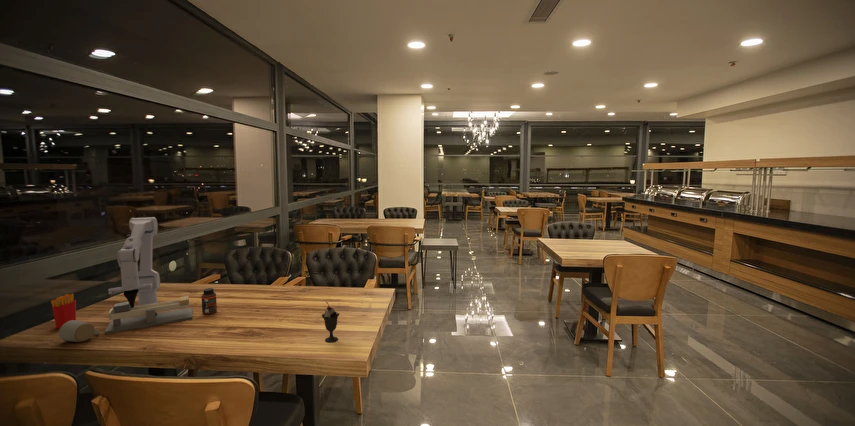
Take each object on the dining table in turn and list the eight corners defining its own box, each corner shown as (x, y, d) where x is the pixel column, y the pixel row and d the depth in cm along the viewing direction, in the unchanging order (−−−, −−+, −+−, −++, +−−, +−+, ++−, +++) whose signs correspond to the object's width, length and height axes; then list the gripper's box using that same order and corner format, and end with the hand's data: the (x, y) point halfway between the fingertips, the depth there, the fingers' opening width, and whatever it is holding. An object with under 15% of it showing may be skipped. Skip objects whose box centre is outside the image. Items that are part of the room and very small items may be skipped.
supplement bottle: (209, 315, 170) (208, 291, 169) (199, 314, 172) (197, 290, 171) (220, 311, 176) (218, 287, 175) (209, 309, 178) (208, 286, 176)
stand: (111, 322, 162) (110, 308, 162) (192, 309, 178) (191, 296, 177) (104, 334, 150) (103, 318, 150) (192, 319, 166) (191, 305, 166)
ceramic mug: (76, 345, 140) (74, 325, 140) (58, 343, 142) (57, 324, 141) (105, 334, 151) (104, 316, 150) (88, 332, 152) (87, 314, 152)
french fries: (70, 321, 164) (67, 292, 163) (80, 320, 164) (77, 292, 163) (50, 329, 155) (47, 299, 154) (61, 329, 155) (58, 299, 154)
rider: (116, 312, 159) (115, 303, 159) (131, 310, 162) (129, 301, 161) (114, 316, 155) (113, 306, 155) (129, 313, 158) (128, 304, 157)
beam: (112, 316, 159) (111, 307, 159) (189, 304, 174) (188, 295, 174) (109, 322, 153) (108, 312, 153) (189, 308, 168) (188, 299, 168)
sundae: (324, 336, 148) (323, 299, 147) (341, 335, 149) (340, 299, 147) (320, 343, 142) (319, 305, 140) (338, 343, 142) (337, 305, 141)
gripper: (106, 281, 151) (108, 313, 153) (150, 276, 159) (152, 306, 160) (109, 277, 157) (112, 308, 159) (151, 272, 165) (154, 302, 166)
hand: (132, 307), depth 160 cm, fingers closed
